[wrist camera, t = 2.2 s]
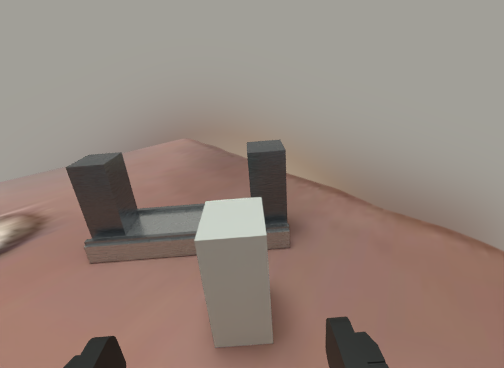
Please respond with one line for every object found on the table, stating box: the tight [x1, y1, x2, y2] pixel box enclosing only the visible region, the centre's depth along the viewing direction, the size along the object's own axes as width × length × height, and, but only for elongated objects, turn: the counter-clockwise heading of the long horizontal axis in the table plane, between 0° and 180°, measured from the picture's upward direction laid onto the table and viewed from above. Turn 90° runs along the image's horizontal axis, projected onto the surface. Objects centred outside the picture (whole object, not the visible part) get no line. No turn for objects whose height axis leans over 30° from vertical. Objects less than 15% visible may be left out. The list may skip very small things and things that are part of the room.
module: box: [194, 197, 273, 348], centre depth 23 cm, size 5×6×11 cm
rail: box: [66, 140, 290, 263], centre depth 36 cm, size 26×9×12 cm, turn 92°
